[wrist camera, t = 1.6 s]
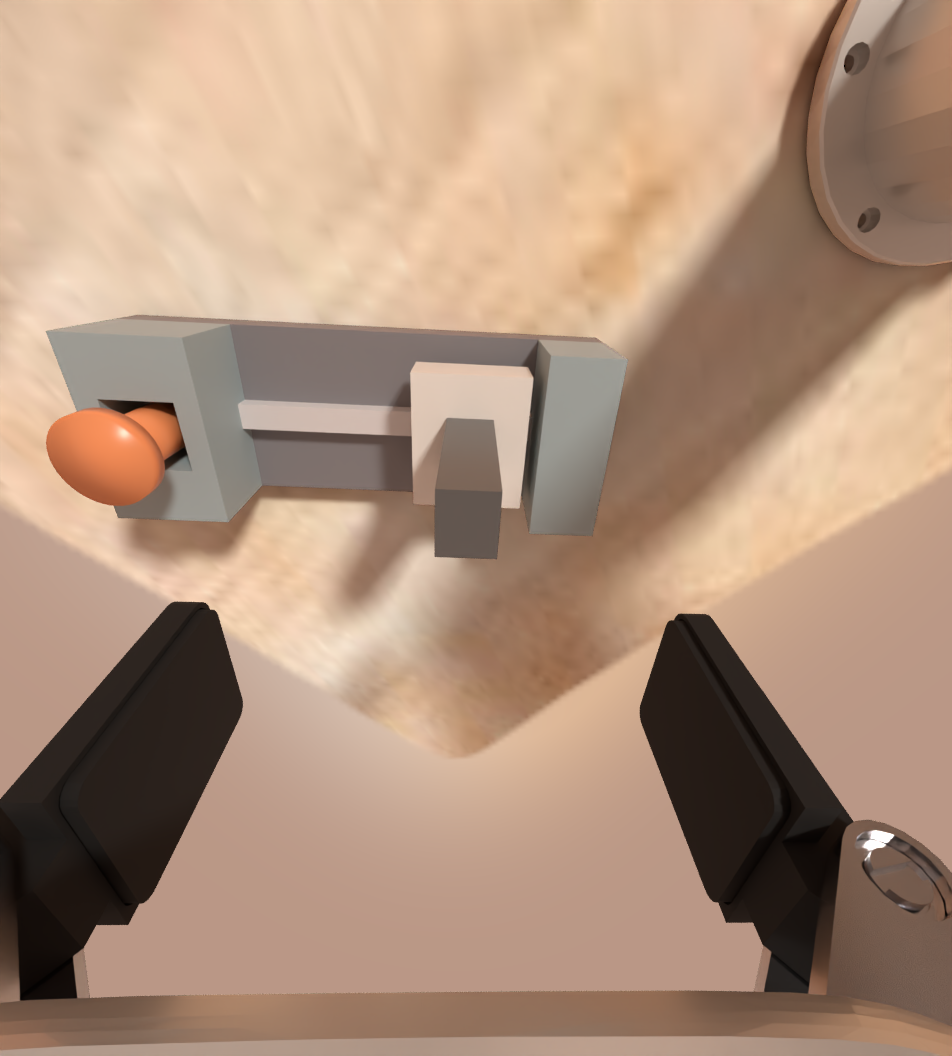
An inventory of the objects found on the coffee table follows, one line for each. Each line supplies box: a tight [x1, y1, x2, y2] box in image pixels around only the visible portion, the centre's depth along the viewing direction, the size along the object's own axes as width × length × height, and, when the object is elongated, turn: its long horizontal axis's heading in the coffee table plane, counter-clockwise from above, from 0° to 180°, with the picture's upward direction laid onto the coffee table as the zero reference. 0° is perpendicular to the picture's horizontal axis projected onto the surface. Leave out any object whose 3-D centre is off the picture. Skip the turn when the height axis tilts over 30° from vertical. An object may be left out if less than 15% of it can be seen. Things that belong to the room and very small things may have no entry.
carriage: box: [410, 362, 533, 559], centre depth 18 cm, size 5×6×9 cm
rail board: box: [46, 315, 628, 536], centre depth 22 cm, size 22×8×6 cm, turn 87°
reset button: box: [46, 402, 185, 506], centre depth 19 cm, size 4×4×5 cm
